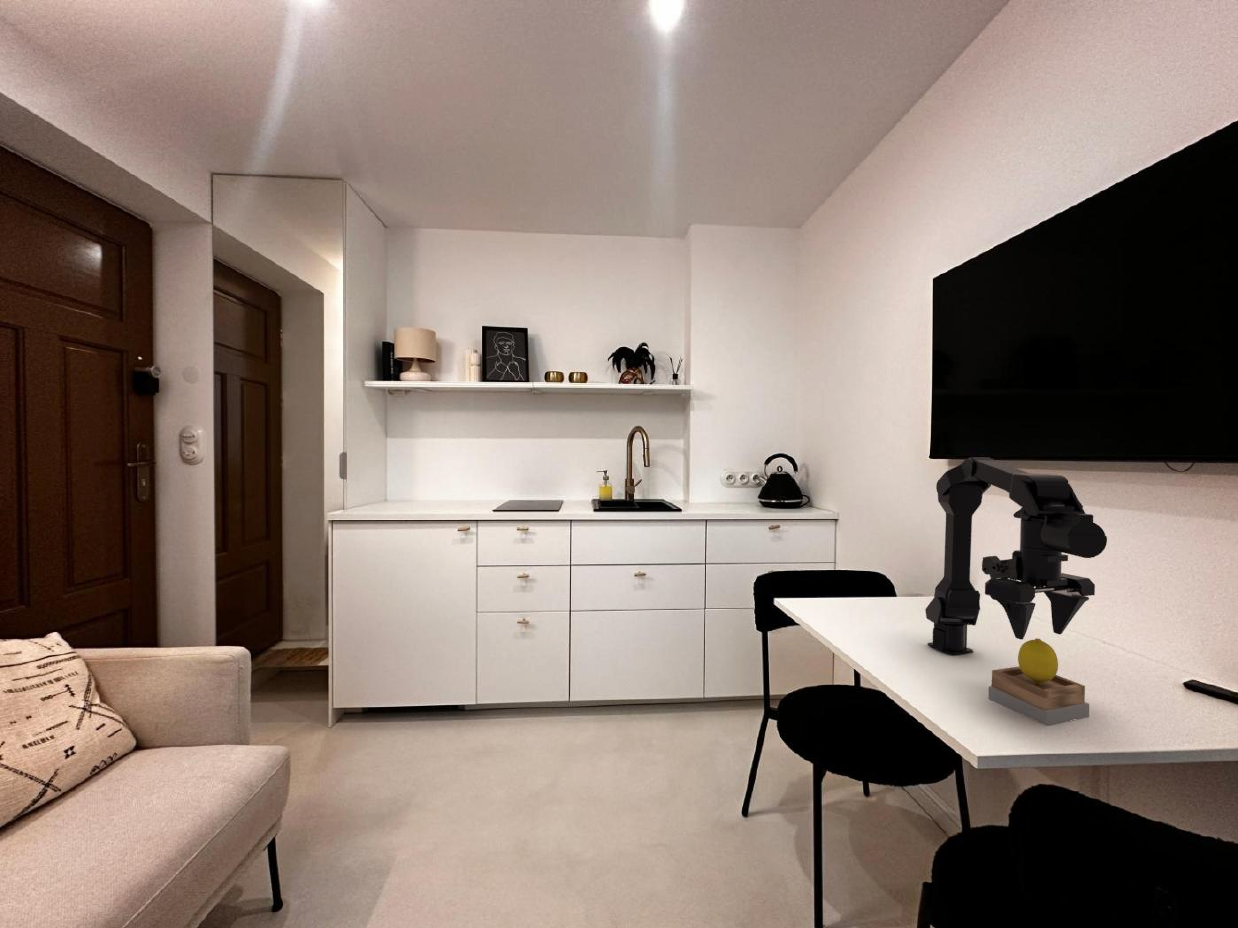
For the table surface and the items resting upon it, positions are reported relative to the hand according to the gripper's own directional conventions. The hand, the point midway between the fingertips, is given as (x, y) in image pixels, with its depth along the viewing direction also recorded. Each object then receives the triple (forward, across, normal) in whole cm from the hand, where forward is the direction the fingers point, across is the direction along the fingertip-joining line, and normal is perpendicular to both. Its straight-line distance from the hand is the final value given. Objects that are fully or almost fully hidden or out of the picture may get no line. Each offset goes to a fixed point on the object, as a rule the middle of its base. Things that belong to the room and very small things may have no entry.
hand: (1038, 636), depth 94 cm
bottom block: (+13, 0, 0) cm, 13 cm away
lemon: (+9, 0, 0) cm, 9 cm away
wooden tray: (+10, 0, 0) cm, 10 cm away
